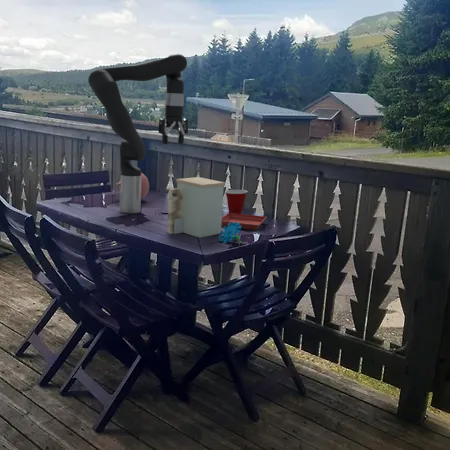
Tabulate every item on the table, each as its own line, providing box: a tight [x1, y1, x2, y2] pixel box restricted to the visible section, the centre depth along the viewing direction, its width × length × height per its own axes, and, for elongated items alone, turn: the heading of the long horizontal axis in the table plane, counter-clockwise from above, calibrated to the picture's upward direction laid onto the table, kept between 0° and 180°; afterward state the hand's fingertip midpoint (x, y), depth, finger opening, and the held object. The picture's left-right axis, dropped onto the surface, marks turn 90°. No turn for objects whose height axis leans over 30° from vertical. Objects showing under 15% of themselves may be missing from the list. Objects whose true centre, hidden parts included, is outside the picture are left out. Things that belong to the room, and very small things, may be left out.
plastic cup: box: [224, 189, 248, 214], centre depth 254 cm, size 11×11×12 cm
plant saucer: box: [221, 212, 267, 231], centre depth 237 cm, size 18×18×3 cm
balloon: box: [115, 172, 150, 200], centre depth 272 cm, size 15×20×15 cm
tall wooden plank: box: [167, 187, 183, 235], centre depth 214 cm, size 6×3×18 cm, turn 136°
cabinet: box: [173, 176, 226, 238], centre depth 216 cm, size 17×15×21 cm
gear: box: [218, 222, 243, 244], centre depth 208 cm, size 11×6×10 cm
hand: (173, 144), depth 224 cm, fingers open, 8 cm apart
